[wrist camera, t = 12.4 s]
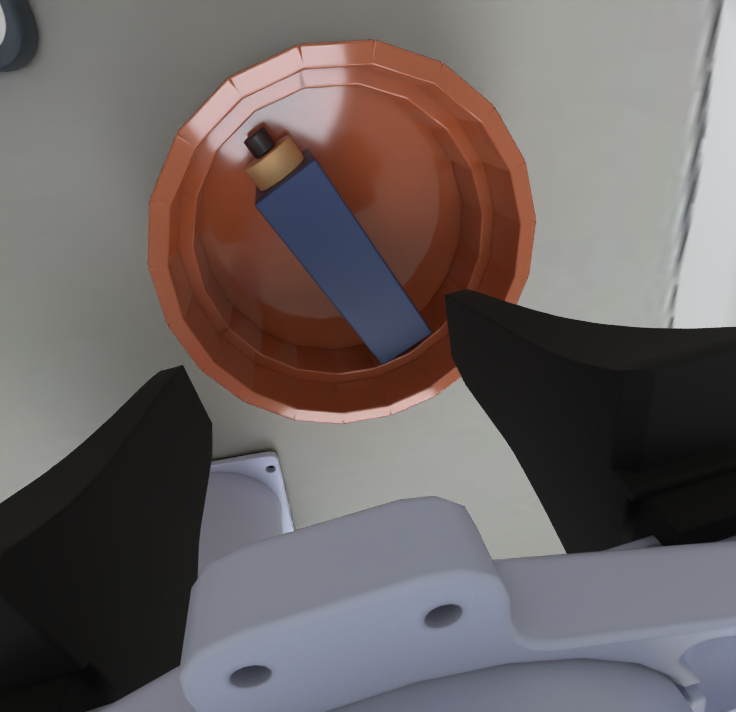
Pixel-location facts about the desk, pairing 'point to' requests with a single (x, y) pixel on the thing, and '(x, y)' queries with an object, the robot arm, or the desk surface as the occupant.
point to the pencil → (332, 245)
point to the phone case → (16, 35)
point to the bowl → (367, 203)
